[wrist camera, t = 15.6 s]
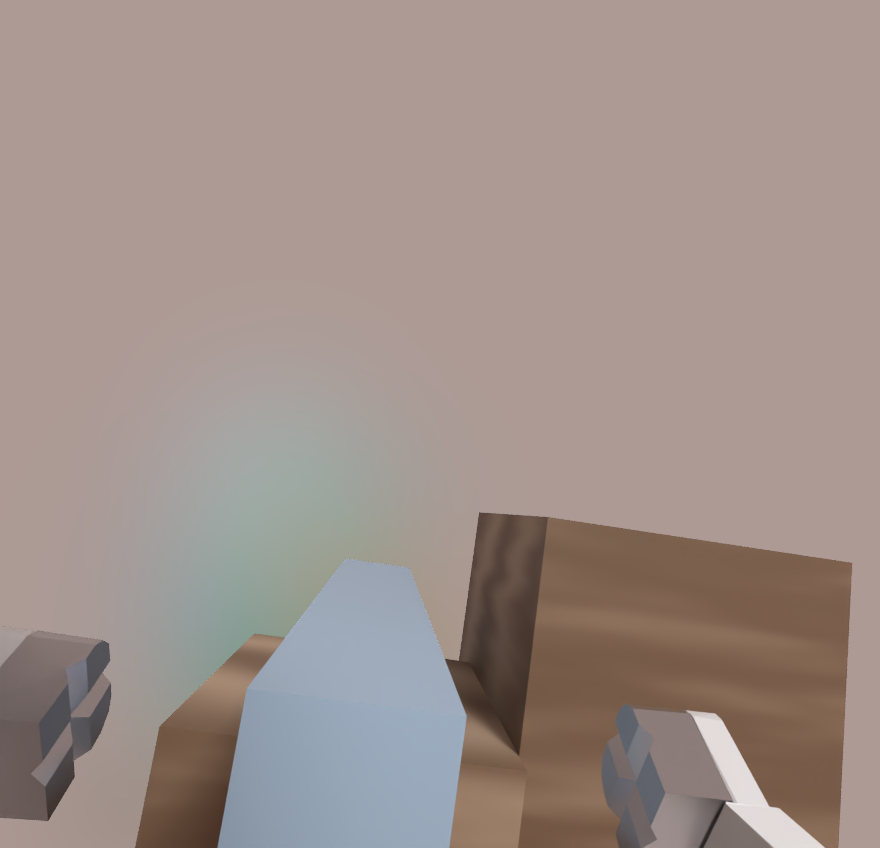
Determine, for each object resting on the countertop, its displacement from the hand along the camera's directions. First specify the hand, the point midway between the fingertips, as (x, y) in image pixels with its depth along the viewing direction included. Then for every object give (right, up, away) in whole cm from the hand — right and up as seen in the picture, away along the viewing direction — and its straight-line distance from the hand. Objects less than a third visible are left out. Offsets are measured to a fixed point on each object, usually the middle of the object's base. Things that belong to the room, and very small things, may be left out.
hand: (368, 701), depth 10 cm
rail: (-2, -5, +11) cm, 12 cm away
